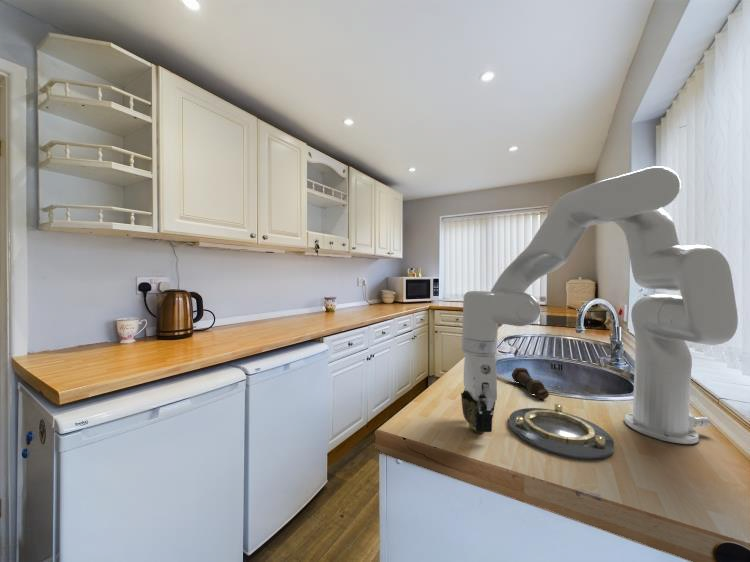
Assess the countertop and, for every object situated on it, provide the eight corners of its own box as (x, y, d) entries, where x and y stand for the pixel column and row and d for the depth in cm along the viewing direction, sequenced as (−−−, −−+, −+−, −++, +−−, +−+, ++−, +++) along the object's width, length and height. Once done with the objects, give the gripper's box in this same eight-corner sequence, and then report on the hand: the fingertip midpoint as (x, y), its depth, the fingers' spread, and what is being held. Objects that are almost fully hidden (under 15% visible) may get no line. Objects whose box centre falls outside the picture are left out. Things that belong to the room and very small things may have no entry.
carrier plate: (574, 413, 78) (575, 401, 78) (640, 462, 58) (640, 445, 58) (496, 411, 79) (496, 399, 79) (534, 458, 59) (534, 442, 59)
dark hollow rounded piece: (497, 441, 65) (498, 404, 64) (461, 436, 66) (462, 400, 66) (491, 424, 72) (492, 391, 72) (459, 420, 73) (460, 388, 73)
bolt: (540, 407, 86) (516, 386, 101) (556, 399, 86) (530, 379, 101) (531, 389, 86) (508, 371, 101) (547, 381, 86) (522, 364, 101)
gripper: (511, 356, 60) (508, 442, 60) (483, 338, 77) (481, 404, 77) (473, 355, 60) (470, 440, 60) (453, 337, 77) (451, 403, 78)
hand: (476, 420), depth 69 cm, fingers open, 9 cm apart
